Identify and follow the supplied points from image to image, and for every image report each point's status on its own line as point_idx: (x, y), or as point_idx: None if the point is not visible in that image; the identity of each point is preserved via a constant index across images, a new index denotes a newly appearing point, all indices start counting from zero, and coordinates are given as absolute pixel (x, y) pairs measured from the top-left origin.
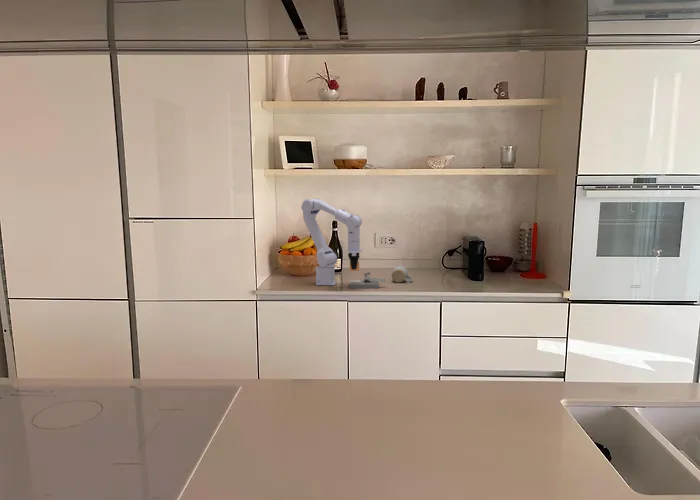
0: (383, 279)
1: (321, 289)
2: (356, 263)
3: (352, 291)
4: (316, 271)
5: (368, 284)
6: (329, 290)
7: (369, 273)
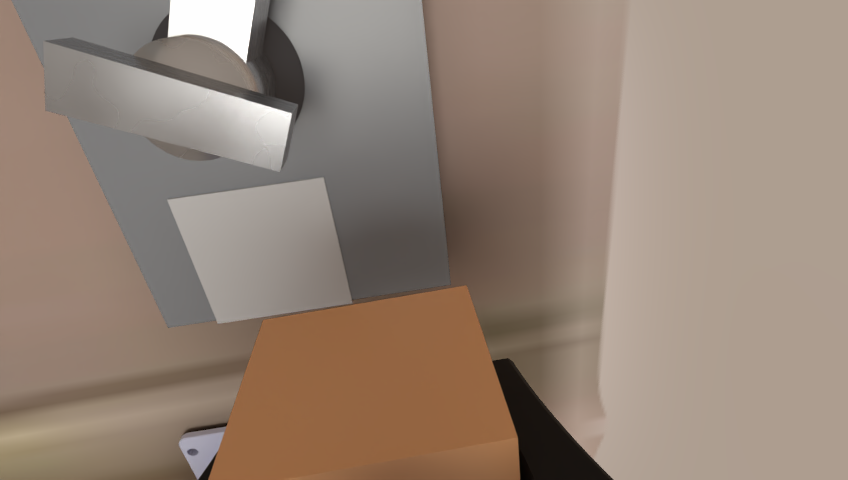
0: None
1: None
2: (592, 472)
3: (592, 211)
4: None
5: (424, 35)
6: (543, 402)
7: (115, 56)
